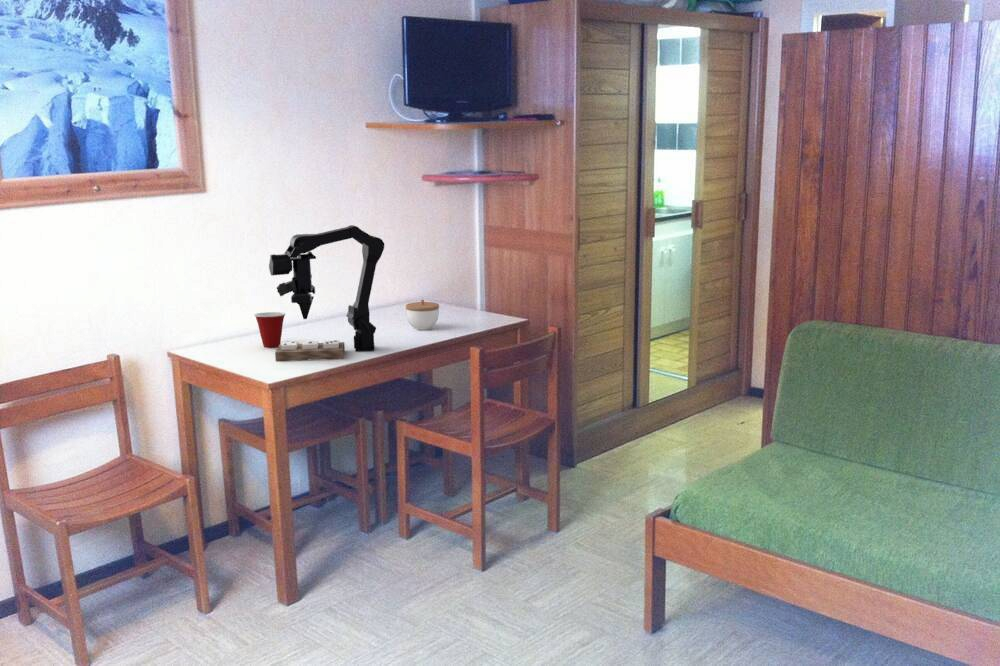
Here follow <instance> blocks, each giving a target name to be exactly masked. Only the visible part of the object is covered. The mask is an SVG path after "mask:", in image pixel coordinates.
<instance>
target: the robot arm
mask: <svg viewBox="0 0 1000 666" xmlns="http://www.w3.org/2000/svg"><path fill="white" fill-rule="evenodd" d="M350 239H353V240H354V241H356V242H357V243H359V244H360V245H362V247H361V249H362V250H361V252H362V259H363V261H362V267H361V271H360V277H359V282H358V287H357V292H356V298H355V301H354V303H353V304H352V305H351V304H349V305H348V309H347V314H346V317H347V321H348V324H349V325H350V326H352V327H353V330H354V331H355V332H354V335H353V348H354V349H355V351H354V352H368V351H370V352H373V351H375V350H376V349H375V348H376V347H375V335H374V334H375V333H376V330H377V327H376V326H375V325H374V324H373V323H372V322H371V321H370V316H371V314H370V308H369V307H370V306H369V302H370V297H371V292H372V289H373V288H372V287H373V282H374V277H375V273H376V267H377V264H378V262H379V260H380V259H381V257H382V254H383V252H384V250H385V242H384V241H383V239H382V238H380V237H377V236H374V235H371V234H369V233H367V232H365V231H364V230H362V229H361V228H360V227H359V226H356V225H353V224H352V225H347V226H346V227H345V226H343V227H341V228H337V229H333V230H332V229H331V230H328V231H323V232H319V233H302V234H299V233H298V234H294V235H292V237H291V238H290V241H289V245H288V247H287V249H286V250H285V252H284V253H282V254H274V253H272V254H270V255H269V257H270V258H269V263H268V270H269V274H270V275H271V277H272V276H281V275H289V274H290V273H291V272H292V274H293V276H292V278H291V280H290V281H287V282H284V281H283V282H282V283H279V284H278V285H277V287H276V290H277V293H278V295H279V297H283V296H285V295H286V294H289V293H293V294H292V295H291V297H290V299H291V301H290V302H291V303H292V304H298V306H299V309H300V311H301V312H300V313H301V315H302V319H303V320H307V319H308V317H309V316H308V315H309V313H310V310H311V308H312V304H313V300H314V295H315V294H316V287H315V286H314V285H313V283H312V279H313V274H312V270H311V269H312V268H311V267H312V266H311V260H315V259H317V256H316V255H315V254H314V253H312V251H314V250H315V249H318V247H322V246H323V245H324V246H325V245H327V244H332V243H333V244H334V243H337V242H340V241H346V240H350ZM311 293H312V294H313V296H312V294H311Z"/></svg>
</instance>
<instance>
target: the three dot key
mask: <svg viewBox="0 0 1000 666" xmlns="http://www.w3.org/2000/svg"><path fill="white" fill-rule="evenodd" d="M339 342H340V340H338V339H337V340H324V341H323V342H322V343H323V349H328V348H339Z"/></svg>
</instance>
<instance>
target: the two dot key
mask: <svg viewBox="0 0 1000 666" xmlns="http://www.w3.org/2000/svg"><path fill="white" fill-rule="evenodd" d="M280 344H281V350H297V347H298V344H299V342H298V341H282V342H281V343H280Z"/></svg>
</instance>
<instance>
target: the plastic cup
mask: <svg viewBox="0 0 1000 666" xmlns="http://www.w3.org/2000/svg"><path fill="white" fill-rule="evenodd" d="M253 316H254V317H255V319H256V323H257V325H258V331H259V334H260V338H261V342H262V345H263V347H264V348H267V349H268V348H269V349H272V348H273V349H274V348H278V346H279V344H282V342H281V340H282V334H283V324H284V320H285V316H286V312H280V311H278V312H277V311H273V312H272V311H270V312H269V311H267V312H259V313H258V312H257V313H255V314H253Z"/></svg>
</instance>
